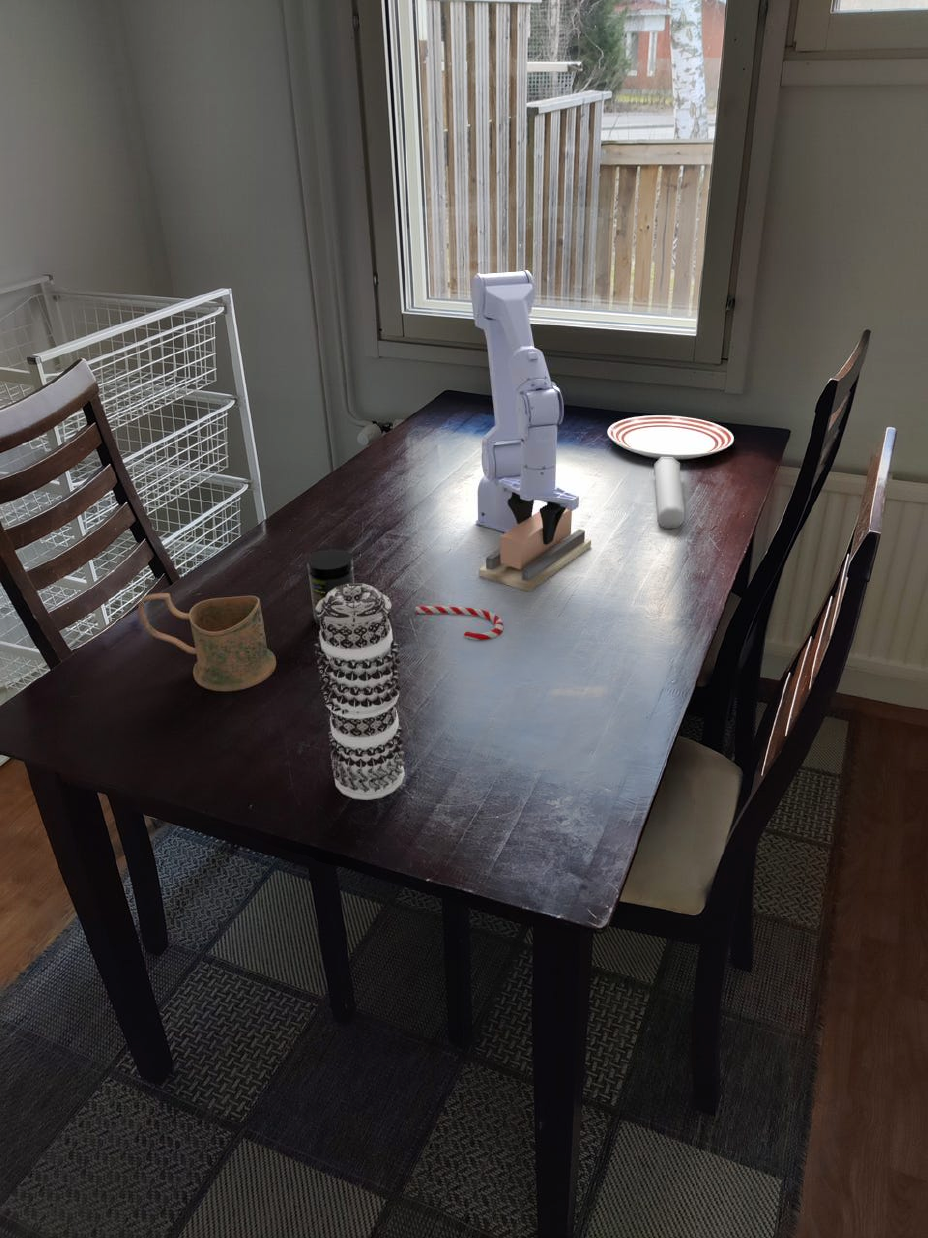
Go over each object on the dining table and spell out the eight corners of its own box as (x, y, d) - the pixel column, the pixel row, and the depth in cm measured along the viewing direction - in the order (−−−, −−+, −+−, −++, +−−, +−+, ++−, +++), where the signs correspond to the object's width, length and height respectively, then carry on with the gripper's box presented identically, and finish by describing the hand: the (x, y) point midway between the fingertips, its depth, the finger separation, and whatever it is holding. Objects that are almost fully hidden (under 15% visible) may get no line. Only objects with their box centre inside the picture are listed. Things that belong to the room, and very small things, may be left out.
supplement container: (347, 633, 139) (340, 571, 134) (306, 626, 141) (298, 566, 135) (364, 611, 144) (359, 551, 139) (325, 605, 146) (319, 546, 141)
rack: (478, 575, 154) (478, 558, 152) (542, 532, 168) (543, 516, 166) (529, 591, 149) (529, 574, 147) (590, 546, 162) (591, 529, 161)
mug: (166, 646, 137) (150, 575, 131) (283, 646, 136) (273, 574, 130) (140, 691, 127) (121, 616, 121) (266, 691, 126) (254, 616, 120)
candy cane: (423, 596, 146) (511, 614, 141) (424, 603, 147) (511, 621, 142) (401, 620, 140) (492, 639, 135) (402, 627, 141) (492, 646, 136)
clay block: (500, 563, 152) (500, 535, 150) (551, 529, 163) (552, 502, 161) (520, 569, 150) (520, 541, 148) (570, 534, 161) (572, 508, 159)
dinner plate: (640, 418, 222) (641, 405, 220) (750, 439, 208) (752, 425, 206) (584, 453, 203) (585, 438, 201) (701, 478, 189) (703, 463, 187)
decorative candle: (316, 792, 108) (291, 608, 95) (352, 745, 116) (333, 568, 103) (387, 810, 105) (371, 622, 92) (419, 761, 113) (408, 581, 100)
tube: (691, 513, 165) (684, 461, 186) (663, 503, 164) (659, 452, 185) (679, 538, 167) (673, 484, 188) (651, 528, 167) (649, 475, 188)
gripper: (487, 461, 150) (488, 537, 157) (564, 480, 142) (561, 558, 149) (511, 448, 155) (511, 522, 162) (586, 466, 147) (583, 542, 154)
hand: (536, 538), depth 156 cm, fingers closed on clay block, 4 cm apart
